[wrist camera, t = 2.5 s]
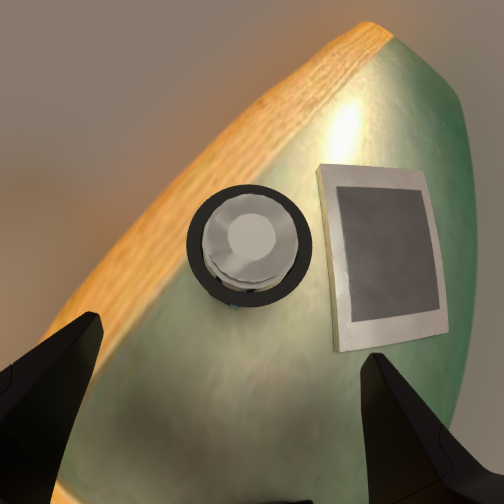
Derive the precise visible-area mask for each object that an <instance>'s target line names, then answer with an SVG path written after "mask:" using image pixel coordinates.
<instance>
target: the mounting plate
mask: <svg viewBox="0 0 504 504" xmlns="http://www.w3.org/2000/svg"><path fill="white" fill-rule="evenodd" d="M316 174H317V181H318V188H319V195H320V202H321V209H322V217H323V225H324V234H325V243H326V252H327V261H328V272H329V283H330V295H331V308H332V322H333V339H334V351H337V352H345V351H352V350H359V349H365V348H371V347H377V346H383V345H389V344H394V343H399V342H404V341H409V340H414V339H419V338H424V337H428V336H433V335H437V334H441V333H446V332H449V331H448V313H447V301H446V290H445V281H444V273H443V266H442V259H441V252H440V246H439V240H438V234H437V229H436V224H435V219H434V214H433V210H432V205H431V201H430V196H429V192H428V188H427V184H426V180H425V177H424V173H423V171H416V170H407V169H396V168H384V167H371V166H356V165H338V164H320V165H319V166H318V168H317V170H316Z"/></svg>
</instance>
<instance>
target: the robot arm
mask: <svg viewBox="0 0 504 504" xmlns="http://www.w3.org/2000/svg"><path fill="white" fill-rule="evenodd" d="M103 334H104V331H103V327H102V323H101V319H100V315H99V314H98V313H94V312H90V311H88V312H85V313H84V314H82V315H81V316H79V317H78V318H77V319H75V320H74V321H72V322H71V323H69V324H68V325H66V326H65V327H63V328H62V329H60V330H59V331H58V332H56V333H55V334H53V335H52V336H50V337H49V338H47V339H46V340H45V341H43V342H42V343H40V344H39V345H37V346H36V347H35V348H33V349H32V350H31V351H29V352H28V353H26V354H25V355H24V356H22V357H21V358H19V359H18V360H16V361H15V362H14V363H13V365H12V364H11V365H9V366H8V367H7V368H5V369H4V370H3V371H1V372H0V504H50V501H51V497H52V493H53V490H54V486H55V482H56V479H57V475H58V471H59V468H60V464H61V461H62V458H63V455H64V451H65V448H66V445H67V442H68V439H69V436H70V433H71V430H72V427H73V424H74V422H75V419H76V416H77V413H78V410H79V408H80V405H81V402H82V400H83V397H84V394H85V392H86V389H87V387H88V384H89V381H90V379H91V376H92V373H93V370H94V366H95V363H96V359H97V356H98V352H99V349H100V346H101V342H102V339H103ZM360 381H361V415H362V424H363V433H364V442H365V453H366V464H367V477H368V492H369V504H504V475H500V474H496V473H492V472H490V471H489V470H487V469H485V468H484V467H483V466H482V465H481V464H480V463H479V462H478V461H477V460H476V459H475V458H474V457H473V456H472V455H471V454H470V453H469V452H468V451H467V450H466V449H465V448H464V447H463V446H462V445H461V444H460V443H459V442H458V441H457V440H456V439H455V438H454V436H453V435H452V434H451V433H450V432H449V431H448V429H447V428H446V427H445V426H444V425H443V423H441V421H440V420H439V419H438V417H437V416H436V415H435V414H434V413H433V411H432V410H431V409H430V408H429V407H428V405H427V404H426V403H425V402H424V401H423V400H422V398H421V397H420V396H419V395H418V394H417V392H416V391H415V390H414V389H413V388H412V387H411V385H410V384H409V383H408V382H407V381H406V380H405V378H404V377H403V376H402V375H401V374H400V373H399V371H398V370H397V369H396V368H395V367H394V366H393V365H392V363H391V362H390V361H389V360H388V359H387V358H386V357H385V355H384V354H382V353H371V354H370V355H369V356H368V358H367V359H366V361H365V362H364V364H363V366H362V368H361V371H360ZM288 504H289V503H288ZM290 504H314V503H313V502H312V501H303V502H297V503H290Z"/></svg>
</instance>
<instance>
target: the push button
mask: <svg viewBox="0 0 504 504" xmlns="http://www.w3.org/2000/svg"><path fill="white" fill-rule="evenodd" d="M186 248H187V256H188V261H189V264H190V267H191V269H192V271H193V273H194V275H195V277H196V278H197V280H198V281H199V282H200V284H201V285H202V286H203V287H204V288H205V289H206V290H207V291H208V293H209V294H210V295H211V296H213V297H214V298H216V299H218V300H220V301H222V302H224V303H225V304H227V305H229V306H231V307H233V308H235V309H238V307H239V306H240V307H260V306H265V305H269V304H271V303H274V302H276V301H278V300H280V299H282V298H284V297H285V296H287V295H288V294H290V293H291V292H292V291H293V290H294V289H295V288H296V287H297V286H298V285H299V283H300V282H301V281H302V279H303V278H304V276H305V274H306V272H307V270H308V268H309V265H310V261H311V257H312V237H311V232H310V229H309V226H308V223H307V221H306V219H305V217H304V215H303V214H302V212H301V211H300V210H299V208H298V207H297V206H296V205H295V204H294V203H293V202H292V201H291V200H290V199H289V198H287V197H286V196H285V195H283V194H281V193H280V192H278V191H276V190H273V189H271V188H268V187H264V186H260V185H249V184H247V185H237V186H233V187H229V188H226V189H223V190H221V191H219V192H217V193H216V194H214V195H213V196H211V197H210V198H209V199H207V200H206V201H205V202H204V203H203V204H202V205H201V206H200V208H199V209H198V210H197V212H196V213H195V215H194V217H193V219H192V221H191V223H190V226H189V229H188V233H187V241H186ZM203 251H204V254H205V258H206V261H207V263H208V265H209V266H210V268H211V269H212V270H213V271H214V272H215V273H216V275H217V276H216V278H214V277H213V276H212V275H211V273H210V272H209V271H208V269H207V267H206V265H205V262H204V257H203ZM286 273H287V274H286ZM285 274H286V275H285ZM284 275H285V277H284V278H283V280H282V281H281V282H280V283H279V284H278V285H276V286H274V287H273V288H270V289H268V290H265V291H261V292H254V291H255V290H256V289H257V290H258V289H259V288H264V287H266V286H268V285H270V284H273V283H275V282H277V281H279V280H280V279H281V278H282V277H283V276H284ZM253 292H254V293H253Z"/></svg>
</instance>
